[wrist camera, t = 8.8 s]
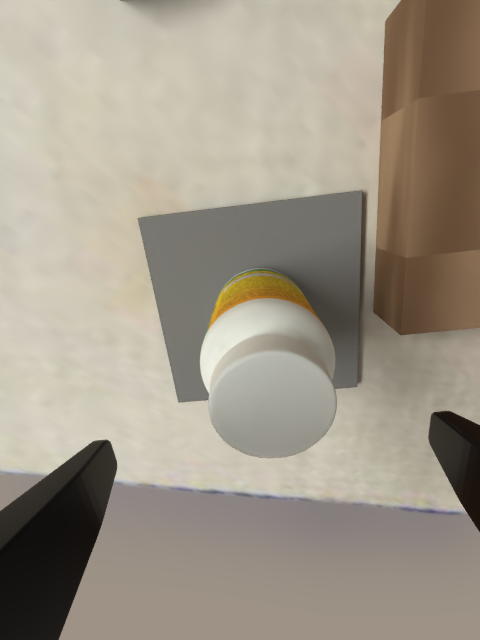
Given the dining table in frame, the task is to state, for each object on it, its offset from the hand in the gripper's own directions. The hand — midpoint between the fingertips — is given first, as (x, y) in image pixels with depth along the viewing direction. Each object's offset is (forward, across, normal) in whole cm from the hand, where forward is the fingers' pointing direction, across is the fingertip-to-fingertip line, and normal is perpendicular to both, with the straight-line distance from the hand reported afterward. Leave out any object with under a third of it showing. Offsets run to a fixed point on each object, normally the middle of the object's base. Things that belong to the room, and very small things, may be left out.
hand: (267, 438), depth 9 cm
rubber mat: (+11, 0, 0) cm, 11 cm away
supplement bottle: (+11, 0, 0) cm, 11 cm away
